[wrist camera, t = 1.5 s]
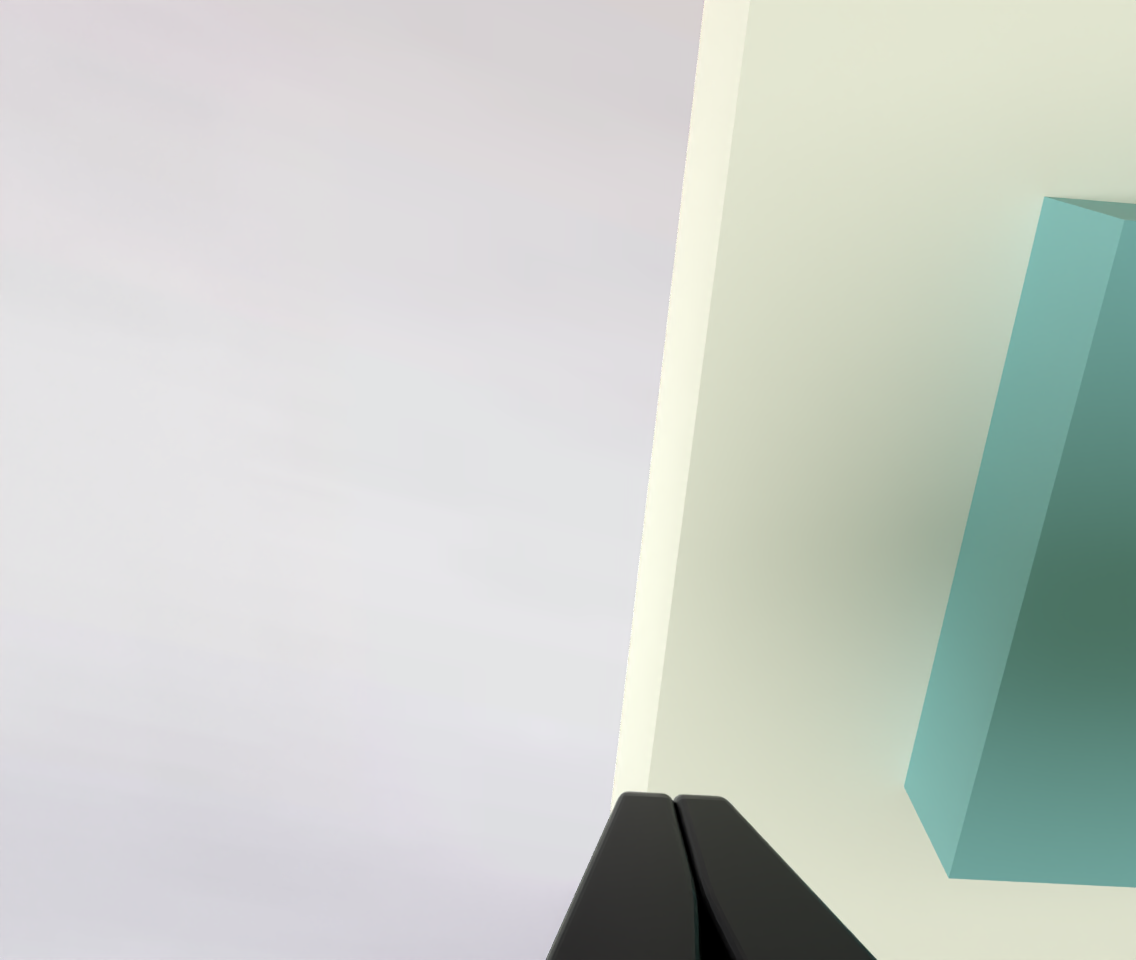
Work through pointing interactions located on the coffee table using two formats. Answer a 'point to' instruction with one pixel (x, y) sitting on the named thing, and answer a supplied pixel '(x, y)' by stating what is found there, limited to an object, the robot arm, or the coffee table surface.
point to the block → (1046, 587)
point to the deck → (854, 426)
